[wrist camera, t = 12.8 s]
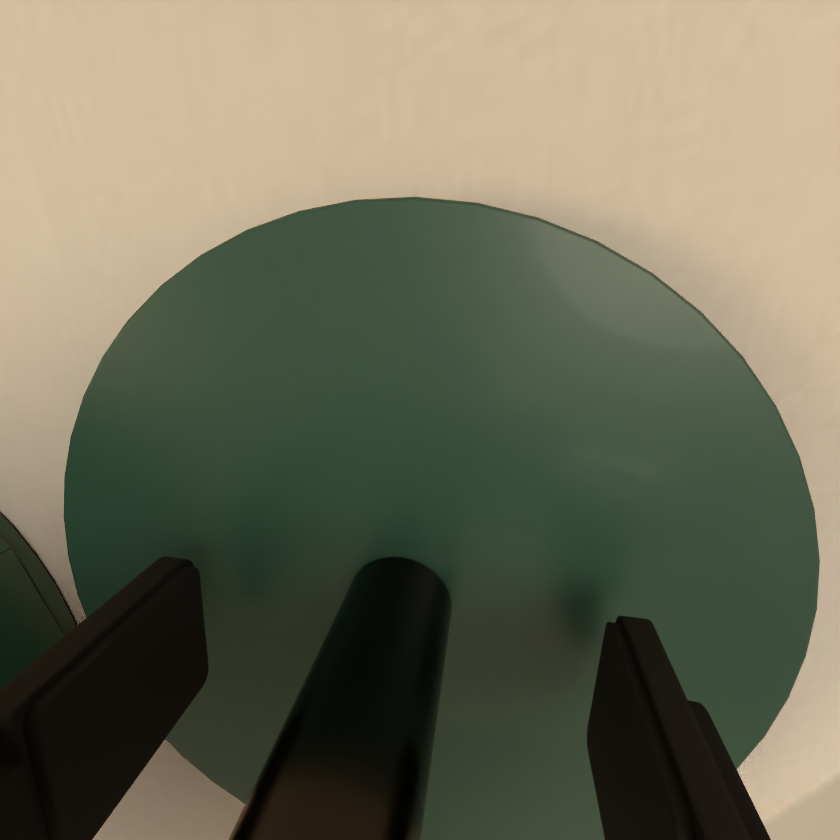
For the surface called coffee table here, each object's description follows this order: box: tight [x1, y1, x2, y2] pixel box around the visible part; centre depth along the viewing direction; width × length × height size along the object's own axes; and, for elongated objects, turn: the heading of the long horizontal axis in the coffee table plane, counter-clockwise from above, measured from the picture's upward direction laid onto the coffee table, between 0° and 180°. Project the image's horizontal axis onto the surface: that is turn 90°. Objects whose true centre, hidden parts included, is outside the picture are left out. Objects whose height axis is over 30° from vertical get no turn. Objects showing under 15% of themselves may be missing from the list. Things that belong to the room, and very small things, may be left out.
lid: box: [64, 197, 820, 840], centre depth 9 cm, size 17×17×7 cm
